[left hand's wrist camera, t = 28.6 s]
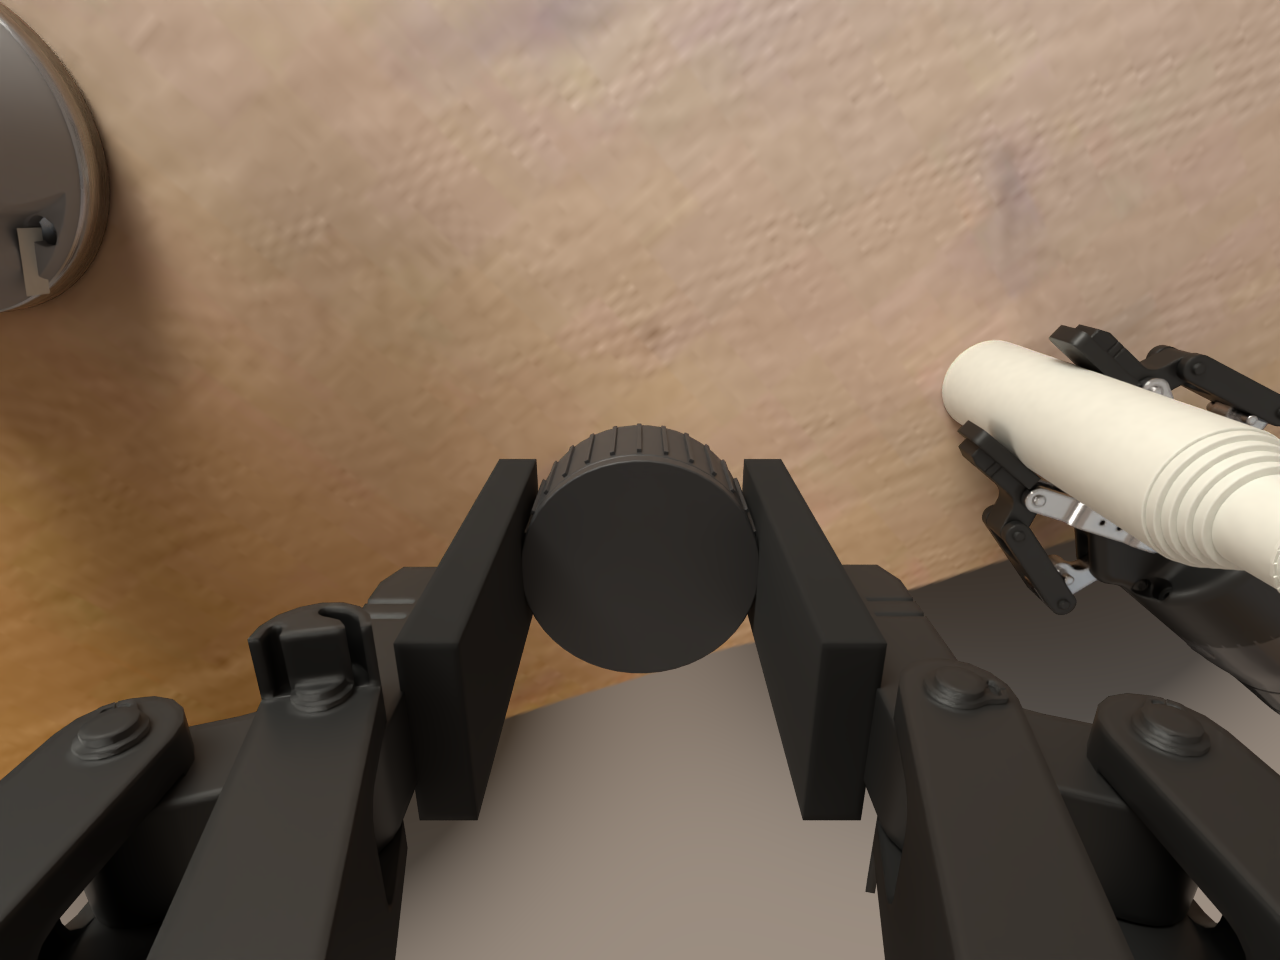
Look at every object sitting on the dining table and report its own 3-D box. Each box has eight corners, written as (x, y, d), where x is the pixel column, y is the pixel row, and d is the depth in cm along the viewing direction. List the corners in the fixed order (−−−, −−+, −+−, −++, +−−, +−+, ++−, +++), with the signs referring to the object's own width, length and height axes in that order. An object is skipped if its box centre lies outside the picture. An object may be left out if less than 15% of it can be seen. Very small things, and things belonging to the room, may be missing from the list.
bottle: (1051, 382, 38) (1479, 558, 19) (978, 445, 39) (1308, 670, 20) (996, 320, 37) (1394, 439, 17) (923, 387, 38) (1218, 566, 19)
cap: (552, 401, 14) (537, 433, 12) (771, 445, 14) (794, 484, 12) (519, 595, 15) (501, 653, 13) (717, 631, 15) (728, 694, 13)
